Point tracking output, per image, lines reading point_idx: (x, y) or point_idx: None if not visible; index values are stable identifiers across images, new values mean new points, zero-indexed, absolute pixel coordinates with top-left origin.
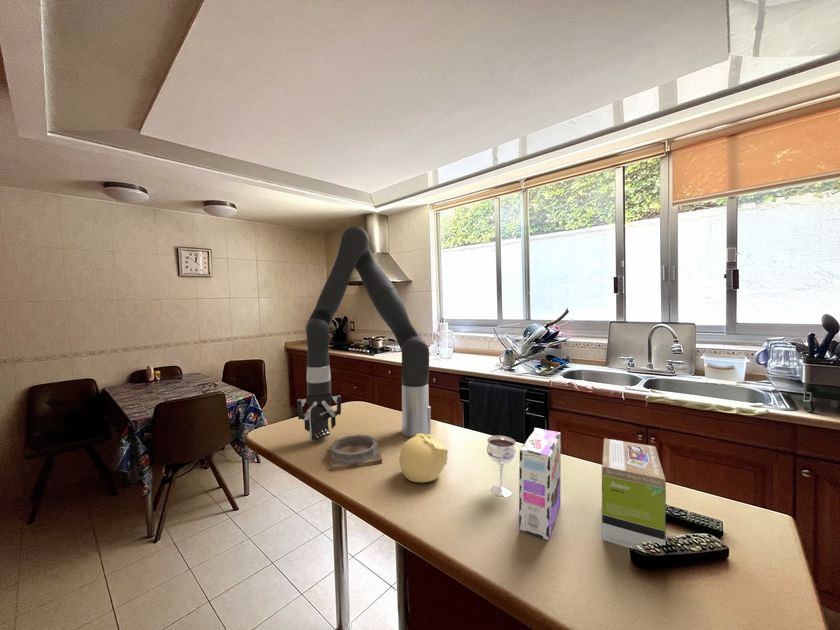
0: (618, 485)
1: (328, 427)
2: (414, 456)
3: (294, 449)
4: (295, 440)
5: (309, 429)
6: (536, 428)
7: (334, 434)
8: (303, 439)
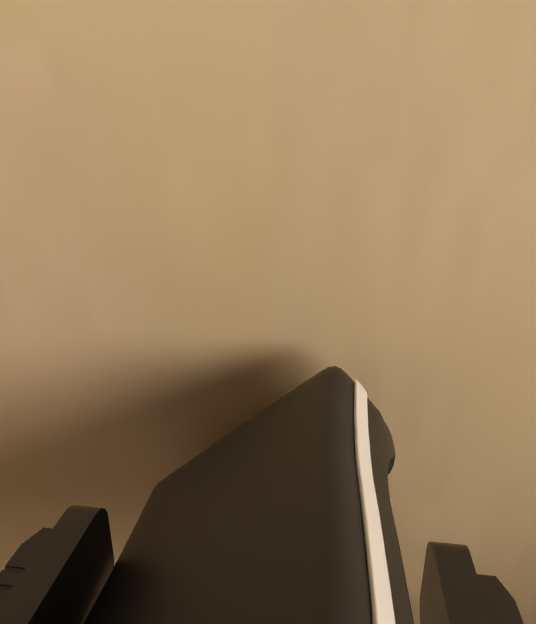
0: None
1: (386, 468)
2: None
3: (47, 517)
4: (2, 320)
5: (105, 511)
6: None
7: (461, 300)
8: (85, 323)
